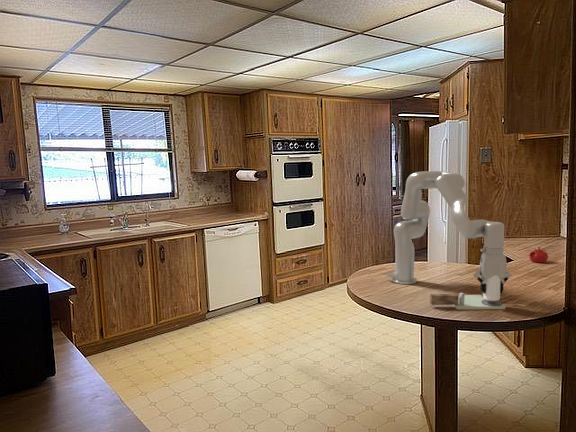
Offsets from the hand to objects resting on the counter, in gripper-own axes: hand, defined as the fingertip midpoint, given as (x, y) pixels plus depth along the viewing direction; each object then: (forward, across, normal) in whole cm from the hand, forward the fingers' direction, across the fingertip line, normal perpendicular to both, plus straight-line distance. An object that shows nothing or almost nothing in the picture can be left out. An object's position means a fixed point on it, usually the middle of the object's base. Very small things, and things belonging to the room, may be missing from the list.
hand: (491, 291), depth 187 cm
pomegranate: (+7, +61, +79) cm, 100 cm away
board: (+6, -6, +4) cm, 9 cm away
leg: (+5, -20, -1) cm, 21 cm away
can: (+3, 0, 0) cm, 3 cm away
